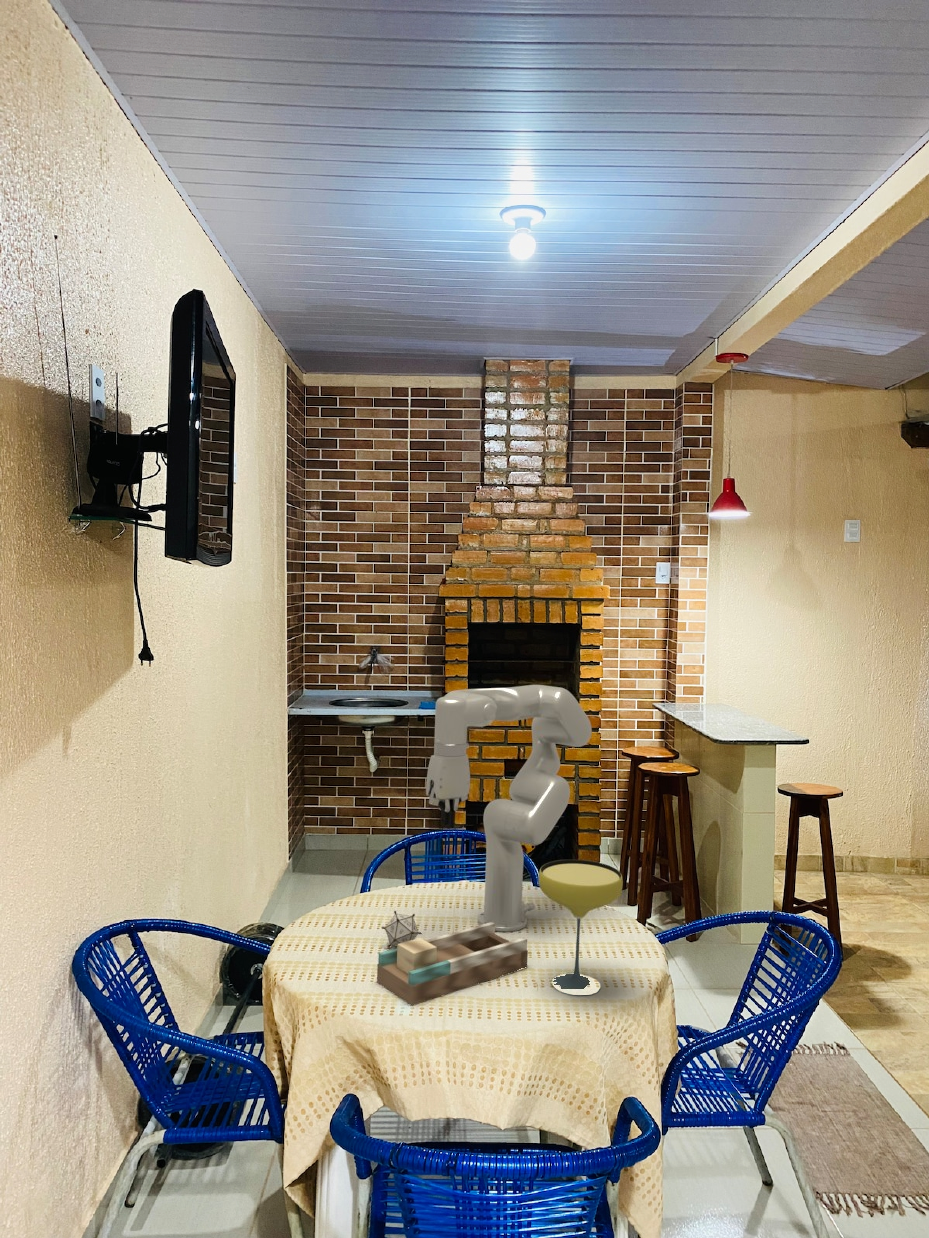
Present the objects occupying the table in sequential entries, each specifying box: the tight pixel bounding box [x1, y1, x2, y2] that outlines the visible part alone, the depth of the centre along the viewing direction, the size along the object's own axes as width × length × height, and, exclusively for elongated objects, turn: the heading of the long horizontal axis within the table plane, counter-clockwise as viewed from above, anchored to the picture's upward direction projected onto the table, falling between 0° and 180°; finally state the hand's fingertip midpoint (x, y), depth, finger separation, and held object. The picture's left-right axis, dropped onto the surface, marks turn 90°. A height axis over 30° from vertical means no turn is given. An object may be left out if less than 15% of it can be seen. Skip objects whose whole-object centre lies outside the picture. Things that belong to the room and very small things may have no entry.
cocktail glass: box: [538, 859, 624, 989], centre depth 199 cm, size 18×18×25 cm
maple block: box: [396, 937, 437, 974], centre depth 196 cm, size 6×6×5 cm
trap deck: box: [376, 922, 529, 1006], centre depth 203 cm, size 32×13×6 cm, turn 129°
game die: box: [380, 910, 422, 949], centre depth 217 cm, size 9×8×10 cm
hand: (447, 826), depth 216 cm, fingers closed
